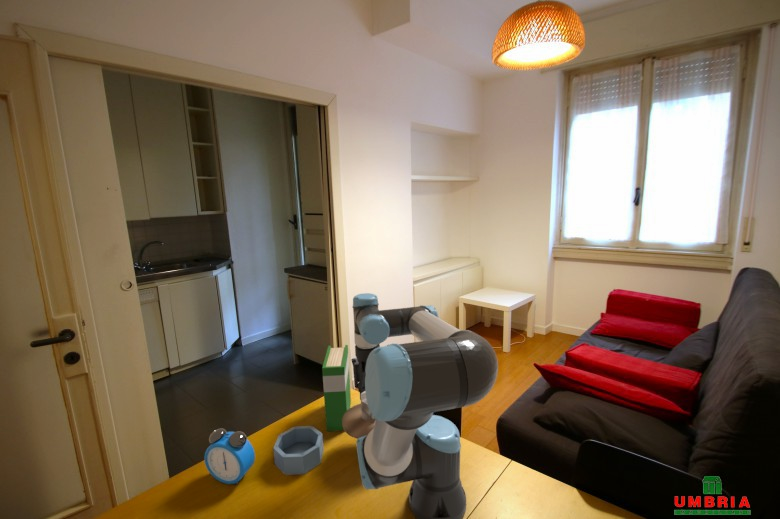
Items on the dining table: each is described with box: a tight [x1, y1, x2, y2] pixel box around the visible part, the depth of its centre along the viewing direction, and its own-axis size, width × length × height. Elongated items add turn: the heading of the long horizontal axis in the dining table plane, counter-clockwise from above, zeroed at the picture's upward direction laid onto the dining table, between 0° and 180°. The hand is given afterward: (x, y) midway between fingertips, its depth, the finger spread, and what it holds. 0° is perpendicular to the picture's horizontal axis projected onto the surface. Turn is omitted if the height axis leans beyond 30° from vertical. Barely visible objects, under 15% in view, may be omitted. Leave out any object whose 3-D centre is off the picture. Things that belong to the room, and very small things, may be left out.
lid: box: [342, 398, 376, 440], centre depth 115 cm, size 18×18×7 cm
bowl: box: [272, 425, 324, 476], centre depth 114 cm, size 14×14×6 cm
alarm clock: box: [203, 427, 256, 486], centre depth 106 cm, size 13×6×15 cm, turn 75°
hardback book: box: [321, 344, 352, 432], centre depth 134 cm, size 18×7×24 cm, turn 2°
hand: (370, 413), depth 115 cm, fingers closed on lid, 4 cm apart
